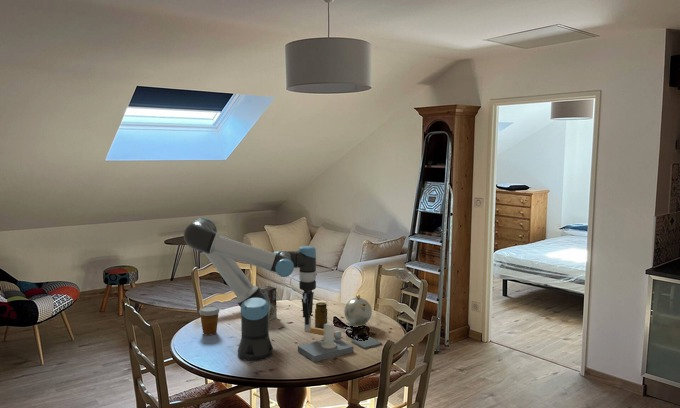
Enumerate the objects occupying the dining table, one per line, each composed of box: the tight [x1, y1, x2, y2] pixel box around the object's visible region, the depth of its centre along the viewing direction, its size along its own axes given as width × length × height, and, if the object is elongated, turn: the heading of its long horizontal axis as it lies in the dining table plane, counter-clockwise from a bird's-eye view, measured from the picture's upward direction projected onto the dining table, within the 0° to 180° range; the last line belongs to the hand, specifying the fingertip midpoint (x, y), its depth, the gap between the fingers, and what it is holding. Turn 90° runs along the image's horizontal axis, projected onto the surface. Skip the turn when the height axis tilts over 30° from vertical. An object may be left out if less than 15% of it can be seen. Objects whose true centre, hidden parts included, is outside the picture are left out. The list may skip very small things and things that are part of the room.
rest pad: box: [351, 336, 383, 350], centre depth 252 cm, size 10×10×1 cm
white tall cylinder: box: [321, 322, 336, 349], centre depth 241 cm, size 7×7×12 cm
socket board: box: [297, 338, 354, 363], centre depth 242 cm, size 20×14×4 cm
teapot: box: [343, 294, 373, 327], centre depth 275 cm, size 18×14×16 cm
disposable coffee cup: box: [198, 305, 220, 336], centre depth 264 cm, size 10×10×12 cm
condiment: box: [311, 301, 328, 329], centre depth 272 cm, size 7×8×12 cm
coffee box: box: [259, 285, 278, 321], centre depth 285 cm, size 9×6×16 cm
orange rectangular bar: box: [303, 326, 342, 340], centre depth 251 cm, size 18×3×3 cm, turn 63°
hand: (307, 330), depth 253 cm, fingers closed
